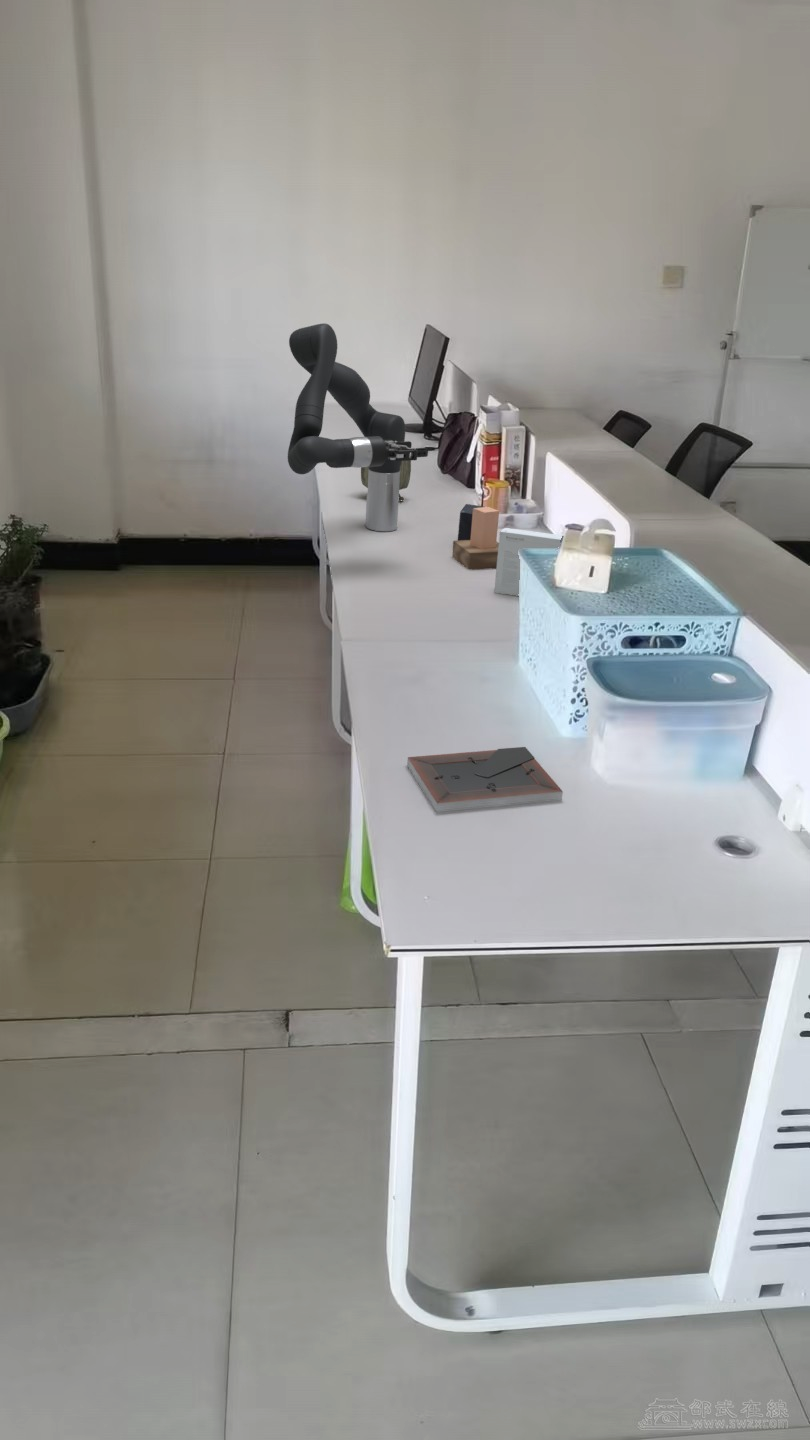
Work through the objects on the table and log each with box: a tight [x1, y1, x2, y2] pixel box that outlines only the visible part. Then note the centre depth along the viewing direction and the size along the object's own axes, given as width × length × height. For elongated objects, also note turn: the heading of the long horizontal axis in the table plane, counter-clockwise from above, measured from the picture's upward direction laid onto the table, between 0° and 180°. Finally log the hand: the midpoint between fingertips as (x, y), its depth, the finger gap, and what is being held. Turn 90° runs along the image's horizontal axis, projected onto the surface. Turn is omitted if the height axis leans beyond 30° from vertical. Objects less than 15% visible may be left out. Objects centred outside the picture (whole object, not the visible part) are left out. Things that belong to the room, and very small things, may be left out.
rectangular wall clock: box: [406, 746, 564, 813], centre depth 185 cm, size 16×2×22 cm
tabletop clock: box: [360, 453, 412, 500], centre depth 355 cm, size 14×9×25 cm, turn 58°
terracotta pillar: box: [470, 506, 500, 549], centre depth 298 cm, size 5×5×10 cm
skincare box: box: [493, 527, 564, 597], centre depth 275 cm, size 21×6×16 cm, turn 71°
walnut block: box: [451, 540, 499, 570], centre depth 302 cm, size 12×12×5 cm
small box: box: [456, 503, 485, 541], centre depth 316 cm, size 11×6×10 cm, turn 168°
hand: (418, 448), depth 288 cm, fingers open, 8 cm apart
